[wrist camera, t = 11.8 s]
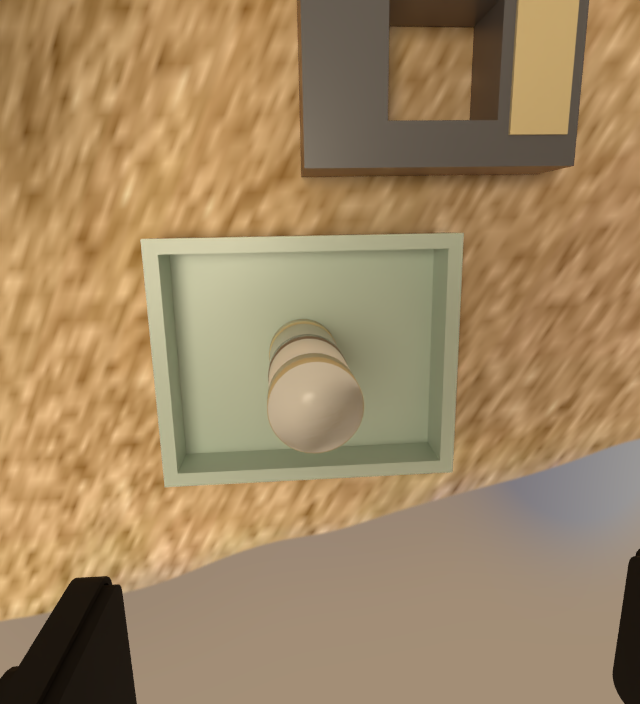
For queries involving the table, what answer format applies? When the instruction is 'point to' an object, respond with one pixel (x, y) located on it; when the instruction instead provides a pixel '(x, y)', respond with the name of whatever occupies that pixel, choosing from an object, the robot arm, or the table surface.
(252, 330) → the parts tray
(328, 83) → the fuse block
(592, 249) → the table surface
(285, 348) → the fuse
